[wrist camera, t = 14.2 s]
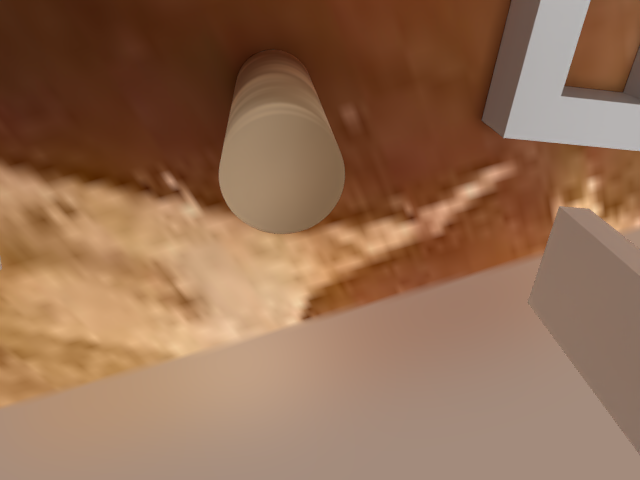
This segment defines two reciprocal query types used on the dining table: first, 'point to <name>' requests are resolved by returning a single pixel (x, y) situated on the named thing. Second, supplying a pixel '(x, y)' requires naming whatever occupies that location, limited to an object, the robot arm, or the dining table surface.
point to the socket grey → (556, 83)
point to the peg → (279, 148)
